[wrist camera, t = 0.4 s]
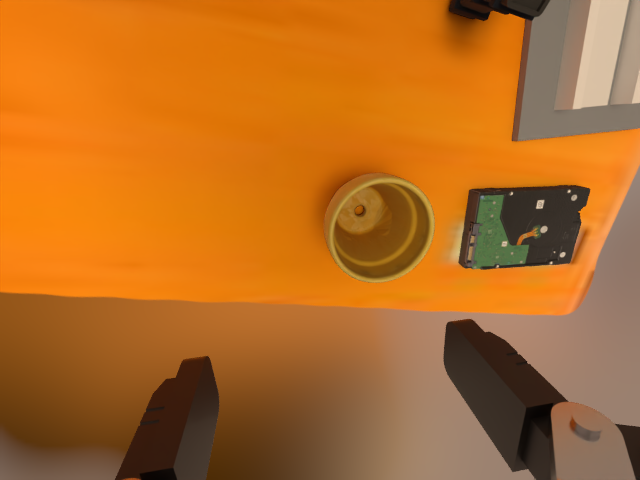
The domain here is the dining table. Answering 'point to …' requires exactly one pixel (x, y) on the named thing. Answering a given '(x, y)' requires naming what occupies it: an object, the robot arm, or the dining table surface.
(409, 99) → the dining table surface
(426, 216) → the plant pot
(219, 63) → the dining table surface
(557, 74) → the rail board
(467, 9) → the magazine
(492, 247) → the disk drive
